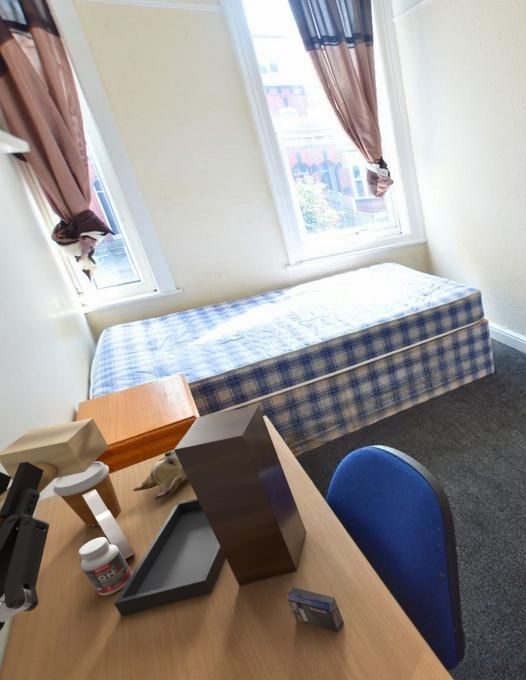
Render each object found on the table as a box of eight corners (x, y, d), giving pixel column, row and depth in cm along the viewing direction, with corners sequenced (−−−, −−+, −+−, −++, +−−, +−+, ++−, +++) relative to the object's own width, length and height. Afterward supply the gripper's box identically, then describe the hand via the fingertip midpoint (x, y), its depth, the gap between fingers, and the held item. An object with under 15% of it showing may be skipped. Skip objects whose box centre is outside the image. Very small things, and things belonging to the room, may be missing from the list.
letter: (140, 562, 92) (117, 523, 88) (126, 569, 91) (103, 531, 87) (111, 517, 106) (90, 482, 102) (99, 524, 104) (78, 488, 100)
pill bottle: (111, 599, 85) (85, 560, 81) (91, 593, 86) (65, 554, 83) (140, 574, 89) (117, 536, 86) (121, 569, 91) (98, 531, 87)
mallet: (7, 554, 50) (-20, 518, 48) (-81, 574, 49) (-112, 539, 47) (109, 446, 68) (93, 417, 66) (46, 459, 67) (28, 430, 65)
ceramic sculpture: (207, 438, 115) (143, 480, 104) (221, 465, 119) (162, 509, 107) (182, 432, 120) (119, 471, 108) (196, 458, 124) (137, 498, 112)
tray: (211, 592, 84) (205, 580, 82) (121, 616, 81) (113, 603, 80) (251, 497, 107) (246, 486, 106) (182, 513, 104) (176, 502, 103)
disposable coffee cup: (67, 527, 104) (40, 484, 99) (114, 498, 112) (91, 457, 107) (92, 536, 100) (65, 492, 96) (138, 505, 108) (115, 463, 104)
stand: (297, 571, 86) (242, 435, 74) (239, 586, 84) (173, 449, 72) (306, 531, 95) (258, 404, 83) (254, 544, 93) (198, 417, 82)
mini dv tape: (296, 620, 77) (285, 595, 74) (303, 612, 78) (292, 587, 75) (338, 632, 74) (328, 606, 72) (344, 623, 75) (334, 597, 73)
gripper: (-138, 731, 45) (-33, 496, 59) (49, 680, 48) (108, 467, 62) (-234, 736, 39) (-93, 473, 53) (-15, 677, 42) (66, 442, 56)
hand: (15, 470), depth 57 cm, fingers closed on mallet, 3 cm apart
